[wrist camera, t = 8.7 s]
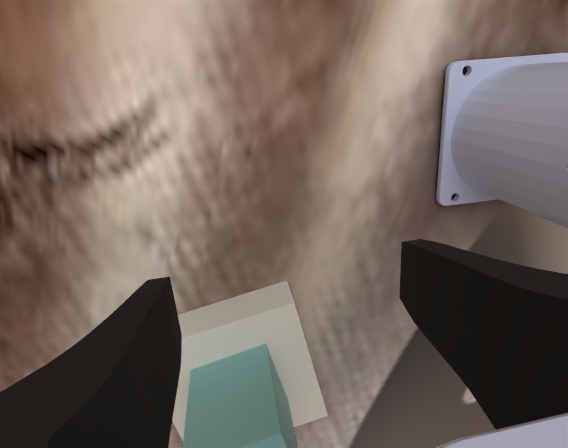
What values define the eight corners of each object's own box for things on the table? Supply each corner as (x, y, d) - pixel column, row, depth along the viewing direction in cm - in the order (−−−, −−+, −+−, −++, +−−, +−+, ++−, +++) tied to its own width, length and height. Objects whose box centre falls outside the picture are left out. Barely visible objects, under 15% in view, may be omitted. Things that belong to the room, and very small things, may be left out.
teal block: (265, 343, 22) (280, 432, 16) (287, 398, 23) (308, 497, 18) (190, 369, 22) (180, 469, 16) (218, 423, 23) (217, 530, 18)
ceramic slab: (285, 277, 24) (294, 302, 21) (316, 382, 27) (327, 415, 25) (146, 320, 23) (136, 352, 21) (195, 421, 27) (193, 461, 24)
